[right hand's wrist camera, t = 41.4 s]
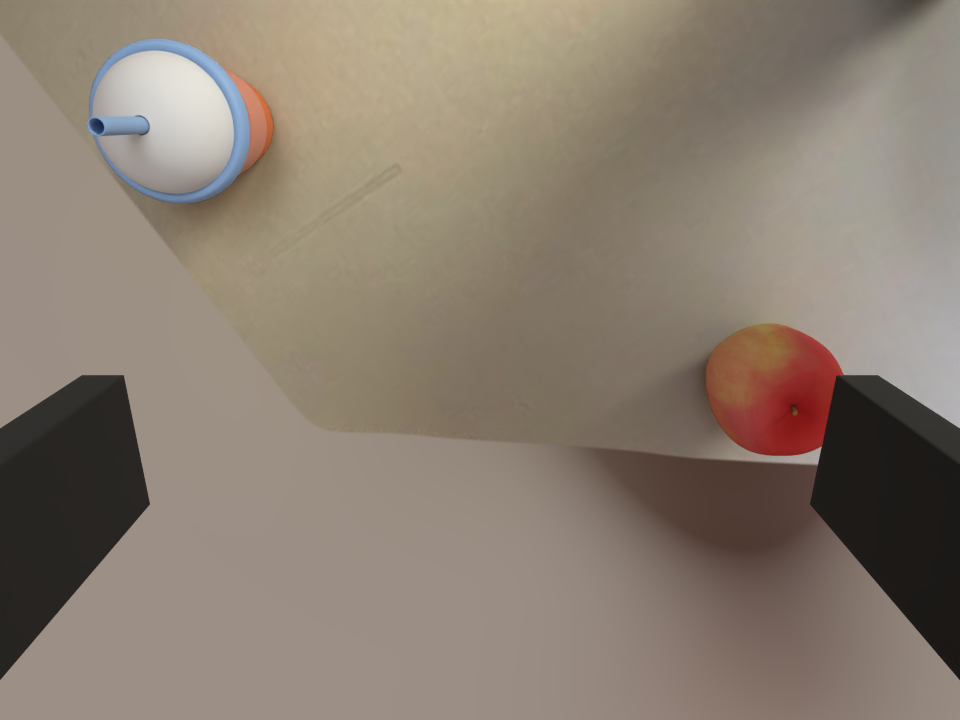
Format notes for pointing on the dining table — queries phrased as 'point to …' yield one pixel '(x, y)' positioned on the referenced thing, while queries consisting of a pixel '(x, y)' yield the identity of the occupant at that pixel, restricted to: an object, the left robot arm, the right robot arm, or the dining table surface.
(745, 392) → the apple
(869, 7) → the dining table surface
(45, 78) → the dining table surface
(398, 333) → the dining table surface
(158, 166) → the cup with straw
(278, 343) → the dining table surface
